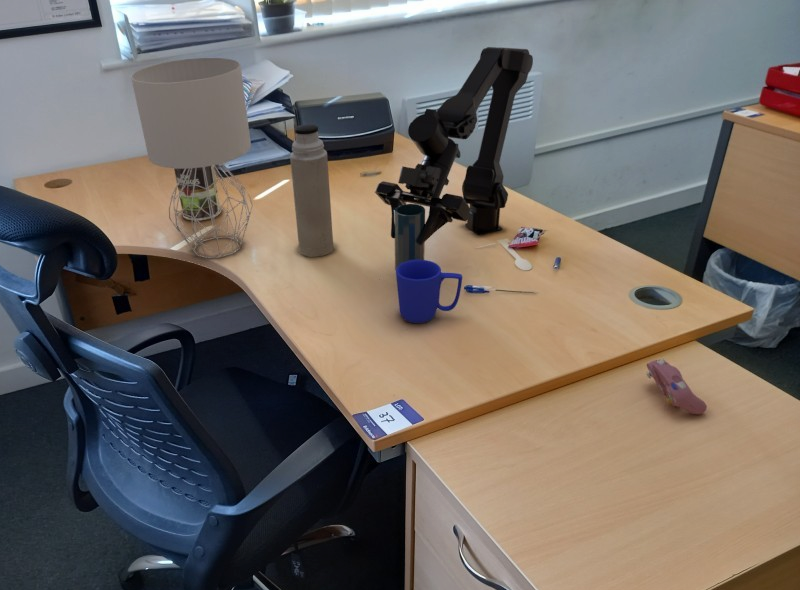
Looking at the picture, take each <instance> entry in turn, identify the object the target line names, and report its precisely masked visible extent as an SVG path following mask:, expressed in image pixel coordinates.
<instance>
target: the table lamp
mask: <svg viewBox="0 0 800 590" xmlns="http://www.w3.org/2000/svg"><path fill="white" fill-rule="evenodd" d="M130 79H131V83H132V88H133V92H134V96H135V101H136V107H137V111H138V116H139V120H140V124H141V129H142V134H143V140H144V144H145V147H146V153H147V157H148V161H149V162H150V163H152V164H153V165H154V166H158V167H161V168H167V169H174V168H178V169H184V171H183V173H182V175H181V177H180V179H179V181H178V183H177V182H176V185H175V188H174V189H173V192H171V193H172V194H171V198H170V201H169V206H168V219H169V220H170V222H171V224H172V225H173V226H174V227H175V229H176V230H177V232H178V233H179V234H180V236H181V237H182V238H183V240H184V241H185V243H186V244H188V246H189V247H190V248H191V250H192V251H193V252H194V253H195V255H196V256H197V257H200V258H201V257H202V258H205V259H206V258H207V259H215V258H216V259H217V258H222V257H226V256H230V255H233V254H234V253H236V252H237V251H239V250H240V249H241V247H242V242H243V240H244V237H245V234H246V231H247V228H248V227H247V226H248V224H249V222H250V221H249V220H250V217H251V213H252V210H253V206H254V205H253V201H252V199H251V196H250V194H249V193H248V191H247V189H246V187H245V186H244V184H243V183H242V182H241V181H240V180H239V178H237V177H236V176H235V175H234V174H233V173H232V172H231V171H230V169H228V168H227V167H226V166H225V165H224V163H229V162H231V161H234V160H237V159H238V158H241V157H243V156H244V155H246V154H247V153H248V152H249V151H250V150H251V148H252V143H251V141H252V140H251V135H250V133H251V132H250V126H249V118H248V110H247V103H246V97H245V88H244V81H243V73H242V66H241V62H240V61H238V60H236V59H233V58H227V57H194V58H184V59H177V60H176V59H175V60H171V61H165V62H160V63H155V64H152V65H148V66H145V67H142V68H140V69H138V70H136V71H134V72H133V73H131V75H130ZM213 165H214V167H213ZM207 166H212V168H213V170H214V171H215V176H216V181H215V182H218V181H219V183H220V185H221V187H222V189H223V191H224V193H225V195H226V199H225V200H224V201H223V202H222V204H221V205H220V206H219V205H217V204H216V203H215V202H213V201H212V200H211V198H210V193H209V187H210V186H212V185H213V184H214V183H215V182H214V183H212V184H211V185H210V186H209V187H208V182H207V177H206V171H205V167H207ZM216 166H218V167H219V168H220V170H221V171H222V172H223V173H224V175H225V176H226V177H227V179H229V180H227V179H226V178H225V177H223V176H222V174H221V173H220V171H219V170H218V168H217V167H216ZM199 167H204V168H203V174H204V172H205V174H204V180H205V177H206V181H205V187H206V182H207V187H206V188H204V187H201V186H199V185H196V184H195V177H196V169H197V168H199ZM186 168H189V169H188V172H189V170H190V168H191V171H192V168H195V177H194V183H191V182H189V179H190V175H191V171H190V175H189V178H188V182H187V183H188V184H189V183H191V184H194V186H195V185H196V186H199V187H201V188H204V189H206V193H207V189H208V193H209V198H208V193H207V199H208V204H209V200H210V204H211V209H212V203H211V201H212V202H213V203H215V204H216V205H217V206H218V207H220V208H219V210H220V209H221V211H223V212H225V213H226V215H225V217H224V218H223V221H222V222H221V224H220V226H219V228H218V227H217V226H216V220H215V218H216V217H217V216H216V215H217V213H218V212H219V210H218V211H217V213H216V214H215V215H214V214H213V209H212V215H213V216H212V215H211V210H210V214H209V213H207V212H206V211H204V210H203V209H202V207H203V205H204V204H205V202H206V200H207V199H206V200H205V202H204V203H203V205H202V207H201V208H200V207H199V206H197V205H196V204H195V203H193V195H194V186H193V195H192V202H191V203H190V204H192V209H191V207H190V204H189V200H188V204H189V205H187V206H186V207H185V208H187V207H188V206H189V207H190V209H191V216H189V215H187V214H184V213H183V212H182V211H183V210H184V209H185V208H184V209H182V208H181V210H180V211H179V210H178V208H179V201H180V195H181V192H182V190H183V189H184V187H185V186H186V185H187V199H188V184H187V183H186V184H185V181H186V178H187V175H188V172H187V175H186V178H185V181H184V183H183V186H184V184H185V186H184V187H183V186H182V189H181V191H180V192H179V191H178V185H179V183H180V181H181V179H182V177H183V174H184V172H185V170H186ZM225 171H226V172H227V173H228V174H229V175H230V176H229V175H228V174H227V173H226V172H225ZM219 176H220V177H219ZM230 177H232V179H233V180H234V181H235V182H236V183H234V181H233V180H232V179H231V178H230ZM225 181H226V182H227V183H229V184H230V185H232V186H233V187H234V188H236V190H237V191H238V192H239V194H240V196H241V198H242V200H239V199H235V198H233V197H231V196H229V193H228V189H227V188H228V187H227V186H226V184H225ZM236 184H237V185H236ZM177 191H178V193H177ZM245 193H246V194H247V196H248V198H249V202H250V204H251V208H250V209H249V206H248V202H247V196H246V194H245ZM179 194H180V195H179ZM176 199H177V202H176V204H175V201H176ZM231 200H233V201H236V202H238V203H237V204H236V205H235V206H233V205H232V202H231ZM226 202H227V203H226ZM172 203H173V211H174V217H175V219H174V220H175V223H174V221H173V220H172V218H171V205H172ZM225 203H226V205H227V207H226V210H225V209H224V208H222V207H223V206H224V205H225ZM193 204H194V205H196V206H197V207H198V208H200V210H203V211H204V212H205V213H207V214H208V215H210V216H211V219H210V220H211V225H212V229H211V230H208V228H206V227H205V226H204V225H203V224H202V223H201V222H200V221H198V220H196V219H195V218H196V216H197V215H198V213H199V212H200V210H199V211H198V213H197V215H196V216H195V217H194V214H193V212H192V211H193ZM210 204H209V209H210ZM241 204H242V206H241V212H240V217H239V222H238V221H237V217H236V211H235V210H234V209H236V208H237V207H238V206H239V205H241ZM229 205H230V207H231V209H230V210H229ZM244 209H245V215H246V217H245V220H244V221H243V222H242V224H241V221H242V215H243V210H244ZM231 212H232V213H233V216H234V220H235V221H234V222H235V227H234V226H233V224H232V220H231V218H230V215H229V213H231ZM179 214H182V215H183V214H184V215H187V216H189V217H191V219H192V218H194V221H193V219H192V221H191V227H192V231H193V233H194V236H193V235H192V234H191V233H190V232H189V231H188V229H187V227H186V226H185V224H184V222H183V221H182V219H181V217H180V216H179ZM192 214H193V217H192ZM215 216H216V217H215ZM178 219H179V221H180V224H181V225H182V227H183V228H184V229H183V228H182V227H181V226H179V222H178ZM225 220H226V230H224V229H221V228H222V226H223V225H224V223H225ZM229 223H230V227H231V229H232V233H230V232H228V229H229V228H228V227H229ZM237 224H238V225H237ZM199 225H200V226H201V227H203V228H204V229H205V230H206V232H207V233H206V234H205V235H204V236H203V234H202V231H201V229H200V226H199ZM243 225H244V226H243ZM196 226H197V227H196ZM242 227H243V228H242ZM196 228H197V229H198V231H199V233H200V236H201V239H199V237H198V235H197V229H196ZM241 228H242V229H241ZM182 231H183V232H184V233H185V234H187V235H188V236H189V237H190V238H189V237H188V236H186V235H185V234H183V232H182ZM220 231H221V232H223V233H226V236H218V234H219V232H220ZM239 231H240V232H239ZM212 232H213V233H212ZM242 232H243V234H242ZM209 234H210V235H211V236H212V237H211V238H210V237H209V238H207V239H205V238H206V237H207V236H208V235H209ZM241 234H242V237H241V240H239V239H238V238H239V237H240V236H241ZM228 235H230V236H232V237H230V236H228ZM213 239H216V245H217V250H218V254H217V252H215V251H214V250H212V249H211V248H210V247H208V246H207V245H206V244H205V243H204V242H207V241H210V240H213ZM219 239H230V240H229V242H228V244H227V245H226V247H225V248H224V249H223V251H222V252H220V246H219V245H220V244H219ZM197 242H198V243H197ZM235 242H236V245H237V247H238V248H237V249H235V250H234V245H235ZM191 243H192V244H193V246H194V247H193V246H192V244H191ZM231 243H232V245H231V246H232V247H231V253H227V254H224V253H225V252H226V250H227V248H228V247H229V245H230V244H231ZM203 246H204V247H205V248H206V249H208V250H209V251H210V252H212V253H213V254H214V255H215V256H208V255H207V253H206V251H205V249H204V247H203ZM200 247H201V249H202V251H203V253H204V255H201V254H199V252H200ZM196 248H197V251H196Z"/></svg>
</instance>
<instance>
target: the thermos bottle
mask: <svg viewBox="0 0 800 590" xmlns="http://www.w3.org/2000/svg"><path fill="white" fill-rule="evenodd" d="M294 133H295V141H293V142H292V145H291V146H292V147H291V151H292V152H290V154H289V160H290V161H289V162H290V170H291V180H292V181H291V182H292V190H293V199H294V200H293V203H294V213H295V221H296V231H297V232H296V233H297V242H298V250H299V251H298V252H299V253H300V254H301V255H303V256H304V257H310V258H311V257H312V258H315V257H317V258H318V257H323V256H326V255H329V254H330V253H332V252H333V250H334V234H333V222H332V221H333V220H332V203H331V190H330V175H329V161H328V160H329V159H328V152H327V150H326V149H324V147H325V144H324V142H323V140H322V139H320V138H319V137H320V136H319V127H318V125H316V124H311V123H309V124H308V123H307V124H300V125H297V126H295V127H294Z"/></svg>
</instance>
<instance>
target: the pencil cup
mask: <svg viewBox="0 0 800 590" xmlns="http://www.w3.org/2000/svg"><path fill="white" fill-rule="evenodd" d="M425 223H426V209H425V206H423V205H418V204H414V203H406V204H404V205H400V206H398V207H396V208H395V209H394V238H393V239H394V242H393V243H394V270H395V271H396V268H397V267H398V266H399V265H400V264H402V263H404V262H406V261H410V260H425V252H426V251H425V249H426V247H425V246H426V245H425V243H426V241H425V242H424V243H423V244H422V245H419V244H418V240H419V237H420V234H421V232H422V230H423V228H424V225H425Z"/></svg>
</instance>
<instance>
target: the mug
mask: <svg viewBox="0 0 800 590" xmlns="http://www.w3.org/2000/svg"><path fill="white" fill-rule="evenodd" d="M395 278H396V289H397V297H398V310H399V313H400V316H401V317H402V319H403V320H405V321H406V322H409V323H412V324H423V323H427V322H429V321H431V320H432V319H434V317H435V315H436V313H437V310H440V311H443V312H451V311H452V310H453V309H455V307H456V306H457V304H458V303H459V299H460V296H461V290H462V284H463V274H461V273H458V272H457V273H456V272H442V268H441V266H440V265H439V264H438V263H436V262H434V261H431V260H428V259H424V260H410V261H406V262H404V263H402V264H400V265H399V266H398V267H397V268H396V270H395ZM445 279H455V280H457V288H456V293H455V297H454V300H453V302H452V303H450V304H448V305H441V304H440V295H441V287H442V282H443V281H444V280H445Z"/></svg>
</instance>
